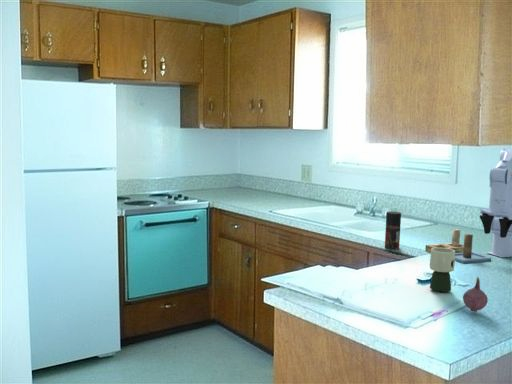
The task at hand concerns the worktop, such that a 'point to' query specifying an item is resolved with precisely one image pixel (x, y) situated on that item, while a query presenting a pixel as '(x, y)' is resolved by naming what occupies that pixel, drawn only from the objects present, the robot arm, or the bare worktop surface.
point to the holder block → (447, 245)
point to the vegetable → (475, 297)
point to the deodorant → (392, 230)
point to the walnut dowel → (467, 245)
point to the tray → (474, 258)
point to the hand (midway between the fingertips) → (495, 235)
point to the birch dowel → (455, 237)
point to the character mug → (441, 268)
